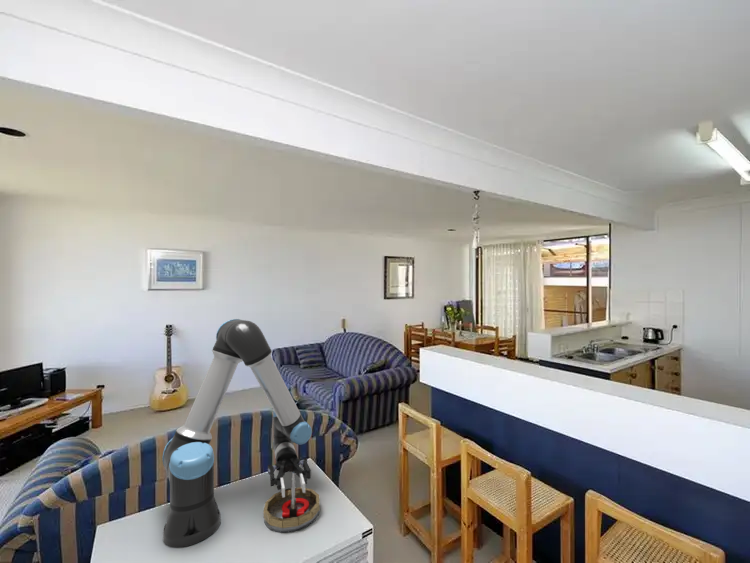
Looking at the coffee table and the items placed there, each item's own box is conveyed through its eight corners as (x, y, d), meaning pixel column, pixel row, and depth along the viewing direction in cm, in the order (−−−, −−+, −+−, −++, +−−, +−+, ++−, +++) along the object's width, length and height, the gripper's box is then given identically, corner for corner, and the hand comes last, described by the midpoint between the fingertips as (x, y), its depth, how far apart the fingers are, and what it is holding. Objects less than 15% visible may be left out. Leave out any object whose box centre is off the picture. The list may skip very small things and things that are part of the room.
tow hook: (284, 502, 112) (278, 519, 103) (284, 461, 113) (278, 474, 104) (310, 500, 112) (306, 517, 103) (310, 460, 114) (306, 473, 104)
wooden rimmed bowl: (252, 526, 102) (252, 514, 102) (285, 494, 118) (285, 484, 118) (301, 537, 97) (301, 525, 97) (328, 503, 113) (328, 492, 113)
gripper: (311, 462, 128) (324, 496, 106) (259, 472, 121) (262, 510, 100) (311, 442, 128) (323, 471, 106) (259, 451, 122) (261, 484, 100)
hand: (293, 490), depth 103 cm, fingers open, 5 cm apart
